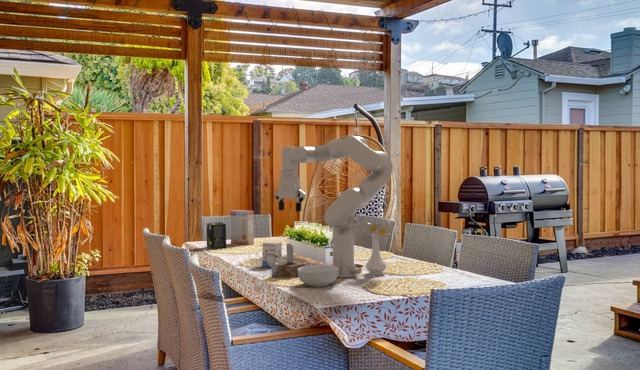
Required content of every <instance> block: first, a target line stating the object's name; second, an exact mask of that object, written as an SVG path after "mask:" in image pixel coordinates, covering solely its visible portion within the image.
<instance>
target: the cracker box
mask: <svg viewBox="0 0 640 370" xmlns="http://www.w3.org/2000/svg"><path fill="white" fill-rule="evenodd" d="M229 212H230V244H231V245H242V244H244V245H243V246H250V244H251V245H254V244H255V239H254V237H255V234H254V233H255V231H254V229H255V228H254V224H255V223H254V222H255V221H254V210H248V209H247V210H244V209H232V210H230V211H229Z"/></svg>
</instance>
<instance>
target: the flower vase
mask: <svg viewBox="0 0 640 370" xmlns="http://www.w3.org/2000/svg"><path fill="white" fill-rule="evenodd" d="M369 221H370V222H369ZM392 228H393V227H392V226H390V223H389V222H388V220H387V219H386V218H384V220H382V219H381V218H377V219H374V217H369V220H368V218H366V219H365V222H364V226H363V227H362V228H361V233H360V234H361V235H362V234H363V233H364V232H365V231H366V234H367V236H368V235H371V240H372V245H371V246H372V250H371V256H370V258H369V259H368V260H367V262H366V263H365V269H366V270H367V271H368V273H369V275H372V276H378V275H383V274H384V271H385V270H386V269H387V264H386V262H385V261H384V260H383V259H382V257H381V256H382V255H381V251H380V241H381V240H382V238H383V239H384V240H385V241H388V240H389V236H388V235H390V236H391V235H392V233H391V231H392Z"/></svg>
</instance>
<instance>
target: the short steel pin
mask: <svg viewBox="0 0 640 370" xmlns="http://www.w3.org/2000/svg"><path fill="white" fill-rule="evenodd" d="M270 268H271V269H270V270H271V272H270V273H271V278H272V277H278V278H279V276H278V263H272V264H271V267H270Z"/></svg>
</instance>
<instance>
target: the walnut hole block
mask: <svg viewBox="0 0 640 370" xmlns="http://www.w3.org/2000/svg"><path fill="white" fill-rule="evenodd" d="M303 266H305V263H301V262H300V263H299V262H294V265H287V261H284V262H282V263H279V264H278V277H284V276H286V277H285V278H291V277H294V278H297V277H296V276H298V268H300V267H303Z"/></svg>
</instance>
